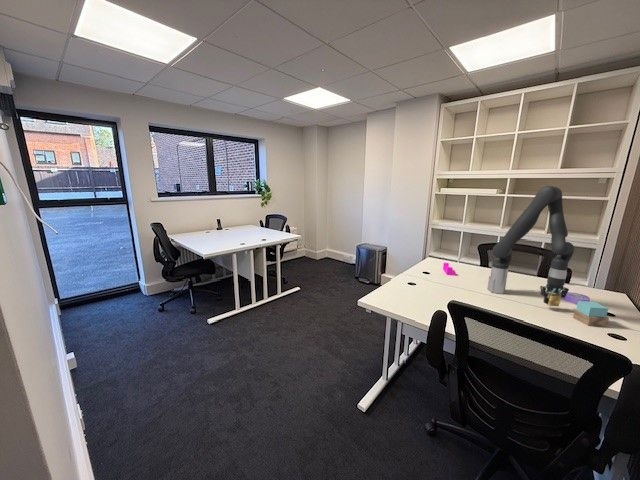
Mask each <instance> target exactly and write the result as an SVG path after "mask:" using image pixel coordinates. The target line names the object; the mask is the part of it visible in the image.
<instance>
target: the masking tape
mask: <svg viewBox="0 0 640 480" xmlns="http://www.w3.org/2000/svg"><path fill="white" fill-rule="evenodd" d="M563 300H564V301H566V302H568V303H571V304H574V305H577V303H578V301H587V302H591V297H589V296H588V295H584V294H583V293H578V292H571V291H570V292H569V291H568V292H567V294H566V296H565V298H563Z"/></svg>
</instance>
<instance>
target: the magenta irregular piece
mask: <svg viewBox="0 0 640 480" xmlns="http://www.w3.org/2000/svg"><path fill="white" fill-rule="evenodd" d="M442 270H443V271H444V273H445V275H446V276H453V277H454V276H456V270H454V269H453V267H452V266H450V263H449V262H443V265H442Z"/></svg>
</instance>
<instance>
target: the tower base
mask: <svg viewBox="0 0 640 480" xmlns="http://www.w3.org/2000/svg"><path fill="white" fill-rule="evenodd" d="M572 317H573V319H575V320H577V321H579V322H580V323H582V324H584V325H585V326H587V327H603V328H604V327H605V328H607V327H608V324H609V320H610V318H609V317H607V316H606V318H605V317H589V316H587V315H585V314H583V313H582V312H580V311H578V310H576V309H574V312H573V316H572Z"/></svg>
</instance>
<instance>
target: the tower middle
mask: <svg viewBox="0 0 640 480" xmlns="http://www.w3.org/2000/svg"><path fill="white" fill-rule="evenodd" d="M575 310H578V311H580V312H582V313H583V314H585V315H587V316H589V317H605V318H606V317H607V315H608V311H609V308H608V307H606V306H604V305H602V304H600V303H599V302H595V301H590V302H587V301H578V303H577V304H576V308H575Z"/></svg>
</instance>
